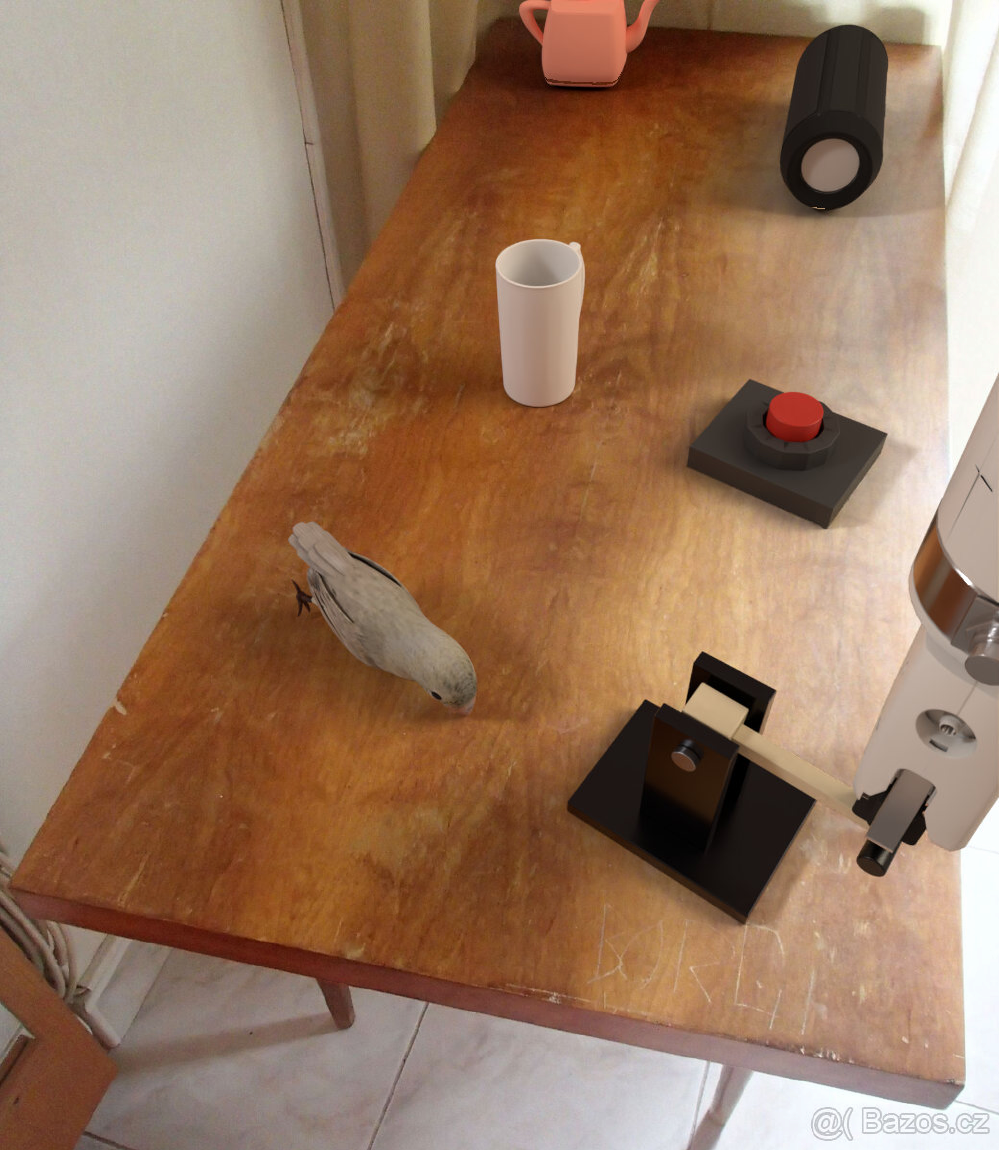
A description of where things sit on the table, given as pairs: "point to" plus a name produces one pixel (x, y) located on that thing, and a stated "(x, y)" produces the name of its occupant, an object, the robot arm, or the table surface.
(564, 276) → the mug
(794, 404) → the red button
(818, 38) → the portable speaker
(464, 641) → the table surface
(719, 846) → the lever stand
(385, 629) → the decorative bird
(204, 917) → the table surface
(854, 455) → the control block
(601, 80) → the teapot
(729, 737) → the lever handle
